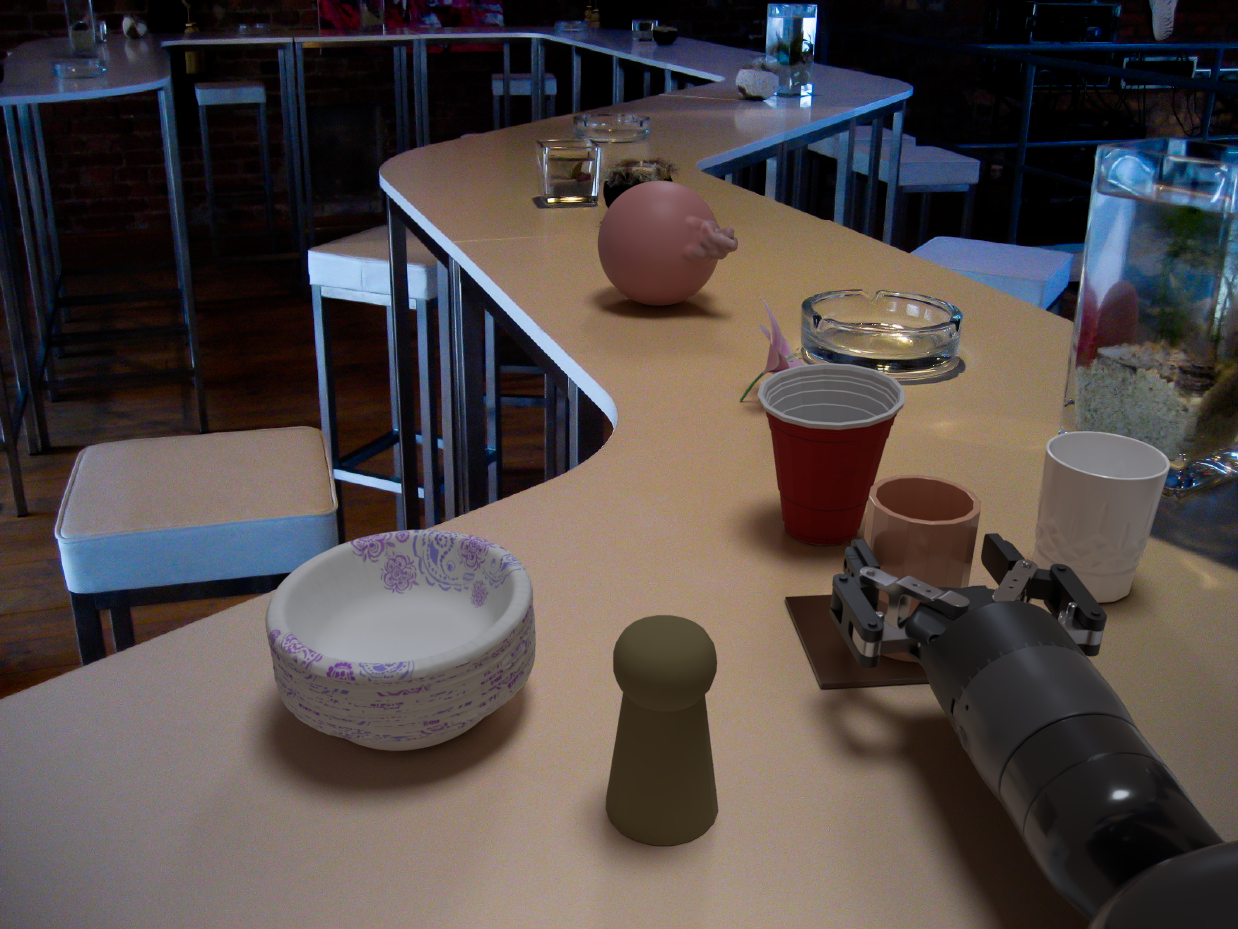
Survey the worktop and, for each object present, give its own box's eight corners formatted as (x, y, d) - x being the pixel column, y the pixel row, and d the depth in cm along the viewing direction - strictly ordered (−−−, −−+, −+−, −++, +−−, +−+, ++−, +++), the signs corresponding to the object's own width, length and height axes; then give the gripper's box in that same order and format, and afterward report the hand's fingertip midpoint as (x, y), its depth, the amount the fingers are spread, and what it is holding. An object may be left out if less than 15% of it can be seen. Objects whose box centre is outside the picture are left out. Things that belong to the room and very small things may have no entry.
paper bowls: (251, 791, 59) (228, 671, 55) (315, 631, 73) (300, 527, 69) (531, 786, 59) (526, 667, 56) (543, 628, 73) (539, 524, 69)
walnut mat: (978, 591, 77) (979, 587, 77) (1040, 677, 68) (1041, 671, 68) (784, 601, 76) (785, 596, 76) (821, 689, 67) (821, 683, 67)
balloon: (685, 339, 127) (688, 206, 120) (573, 302, 140) (571, 181, 133) (770, 311, 136) (778, 187, 130) (658, 279, 149) (660, 165, 143)
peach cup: (937, 602, 75) (957, 472, 71) (974, 659, 69) (998, 521, 65) (842, 607, 74) (856, 476, 70) (871, 665, 68) (888, 526, 64)
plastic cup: (721, 526, 86) (727, 384, 81) (809, 485, 92) (820, 351, 87) (830, 580, 78) (844, 428, 73) (917, 532, 85) (936, 389, 80)
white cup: (1035, 542, 83) (1058, 422, 79) (1147, 569, 80) (1176, 445, 75) (1012, 589, 77) (1035, 462, 73) (1131, 620, 74) (1162, 489, 69)
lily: (776, 446, 102) (834, 361, 99) (683, 375, 106) (735, 291, 103) (817, 439, 112) (870, 362, 109) (731, 374, 116) (780, 298, 113)
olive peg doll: (581, 803, 58) (578, 631, 53) (659, 750, 62) (663, 585, 57) (664, 864, 54) (668, 685, 49) (741, 804, 58) (752, 632, 53)
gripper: (1186, 641, 53) (1040, 490, 67) (899, 656, 52) (814, 500, 66) (1153, 762, 56) (1021, 593, 70) (883, 779, 55) (805, 604, 69)
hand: (921, 548), depth 68 cm, fingers open, 8 cm apart
